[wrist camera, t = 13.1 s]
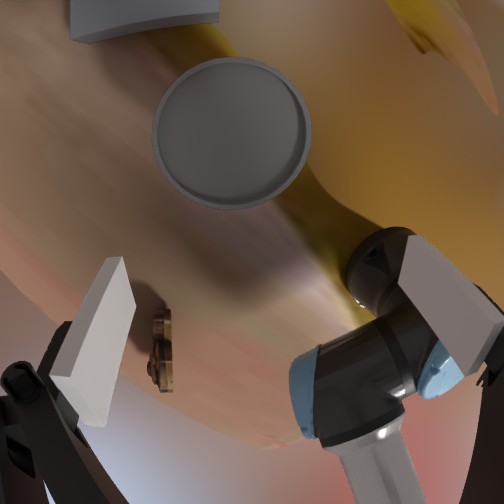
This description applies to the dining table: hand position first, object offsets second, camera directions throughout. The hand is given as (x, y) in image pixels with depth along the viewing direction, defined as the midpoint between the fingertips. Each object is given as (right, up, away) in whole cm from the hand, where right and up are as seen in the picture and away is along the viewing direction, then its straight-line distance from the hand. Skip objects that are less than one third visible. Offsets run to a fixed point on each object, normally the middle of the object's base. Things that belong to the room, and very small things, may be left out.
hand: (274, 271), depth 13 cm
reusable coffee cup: (-4, +17, +21) cm, 27 cm away
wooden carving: (-16, -13, +38) cm, 43 cm away
